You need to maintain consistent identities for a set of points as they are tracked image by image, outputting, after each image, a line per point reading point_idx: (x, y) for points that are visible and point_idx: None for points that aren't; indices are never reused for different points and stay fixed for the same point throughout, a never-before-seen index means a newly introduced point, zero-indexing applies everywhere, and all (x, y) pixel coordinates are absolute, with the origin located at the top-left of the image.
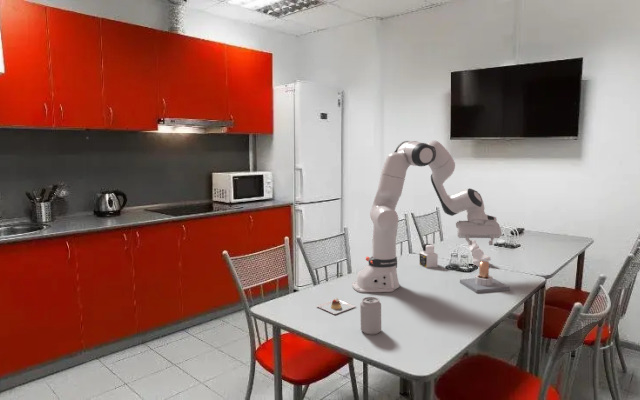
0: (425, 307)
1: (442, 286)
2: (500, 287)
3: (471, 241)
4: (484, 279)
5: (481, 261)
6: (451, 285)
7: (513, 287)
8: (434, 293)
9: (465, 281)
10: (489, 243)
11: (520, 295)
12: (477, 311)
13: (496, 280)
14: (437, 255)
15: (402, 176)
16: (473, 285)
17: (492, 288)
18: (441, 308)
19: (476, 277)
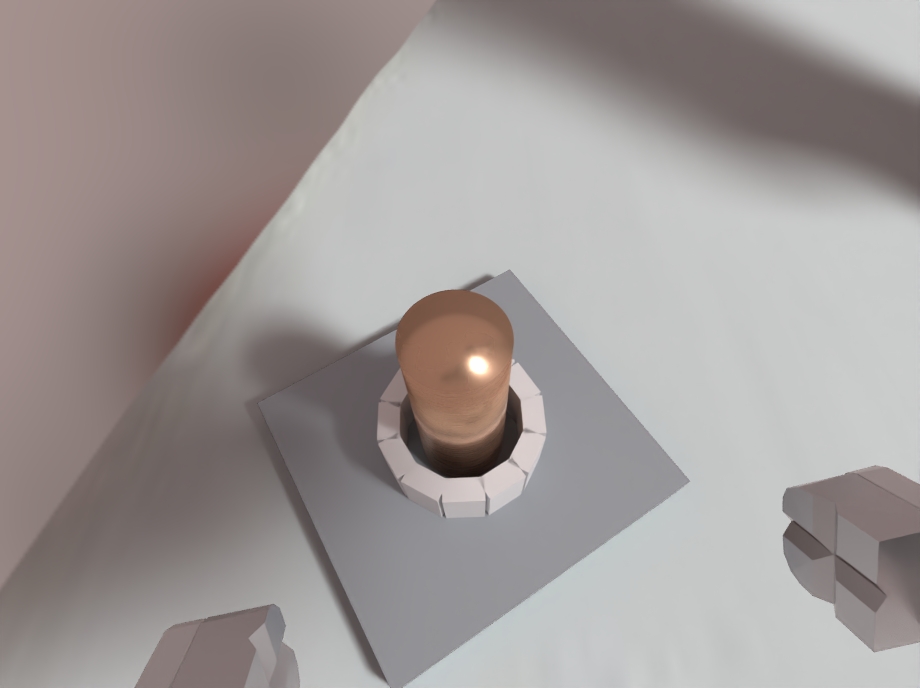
0: (729, 51)
1: (781, 350)
2: (332, 366)
3: (856, 510)
4: None
5: (490, 364)
6: (723, 394)
7: (213, 491)
8: (771, 210)
9: (626, 439)
10: (278, 642)
11: (215, 322)
12: (487, 71)
13: (338, 559)
14: None
15: None
16: (543, 354)
17: (396, 329)
18: (654, 59)
19: (529, 377)
